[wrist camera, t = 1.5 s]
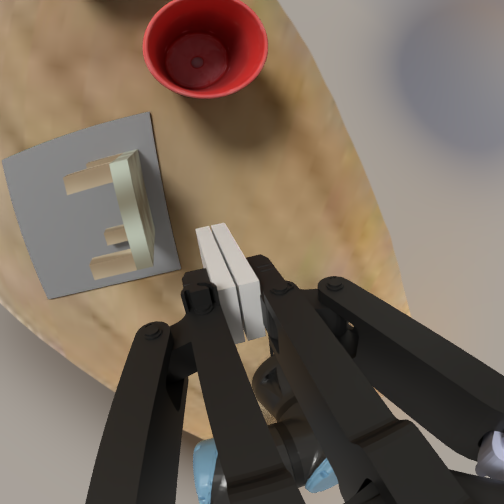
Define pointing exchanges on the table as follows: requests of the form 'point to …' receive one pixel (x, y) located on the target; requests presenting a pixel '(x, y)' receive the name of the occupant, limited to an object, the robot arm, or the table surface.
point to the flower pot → (205, 47)
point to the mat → (84, 205)
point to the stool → (132, 211)
